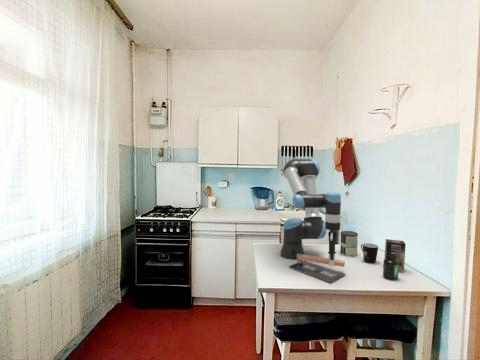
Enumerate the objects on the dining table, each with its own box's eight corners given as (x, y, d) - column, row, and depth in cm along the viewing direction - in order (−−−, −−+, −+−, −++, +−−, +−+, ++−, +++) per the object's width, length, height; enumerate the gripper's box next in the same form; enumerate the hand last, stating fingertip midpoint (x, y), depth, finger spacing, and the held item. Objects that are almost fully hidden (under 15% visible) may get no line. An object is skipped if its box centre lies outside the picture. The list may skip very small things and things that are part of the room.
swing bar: (295, 259, 152) (295, 255, 152) (297, 257, 156) (297, 253, 156) (344, 267, 141) (344, 262, 141) (344, 264, 145) (344, 260, 145)
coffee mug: (379, 264, 156) (380, 248, 155) (363, 263, 157) (364, 247, 157) (373, 258, 167) (374, 242, 166) (359, 257, 169) (359, 241, 168)
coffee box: (385, 270, 147) (386, 241, 146) (383, 266, 153) (384, 238, 152) (404, 273, 144) (405, 243, 143) (402, 268, 150) (403, 240, 149)
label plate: (289, 267, 151) (289, 261, 151) (304, 262, 160) (304, 255, 160) (330, 283, 131) (330, 276, 131) (345, 276, 140) (345, 269, 140)
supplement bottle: (399, 281, 134) (400, 257, 133) (384, 279, 136) (385, 256, 135) (395, 275, 140) (396, 253, 140) (381, 274, 142) (382, 252, 142)
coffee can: (337, 254, 174) (337, 232, 173) (344, 250, 181) (344, 230, 181) (353, 258, 167) (353, 235, 166) (359, 254, 174) (360, 232, 173)
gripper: (339, 224, 134) (338, 270, 136) (340, 219, 146) (340, 262, 148) (323, 223, 137) (323, 268, 139) (326, 218, 149) (325, 260, 151)
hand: (331, 265), depth 143 cm, fingers closed
